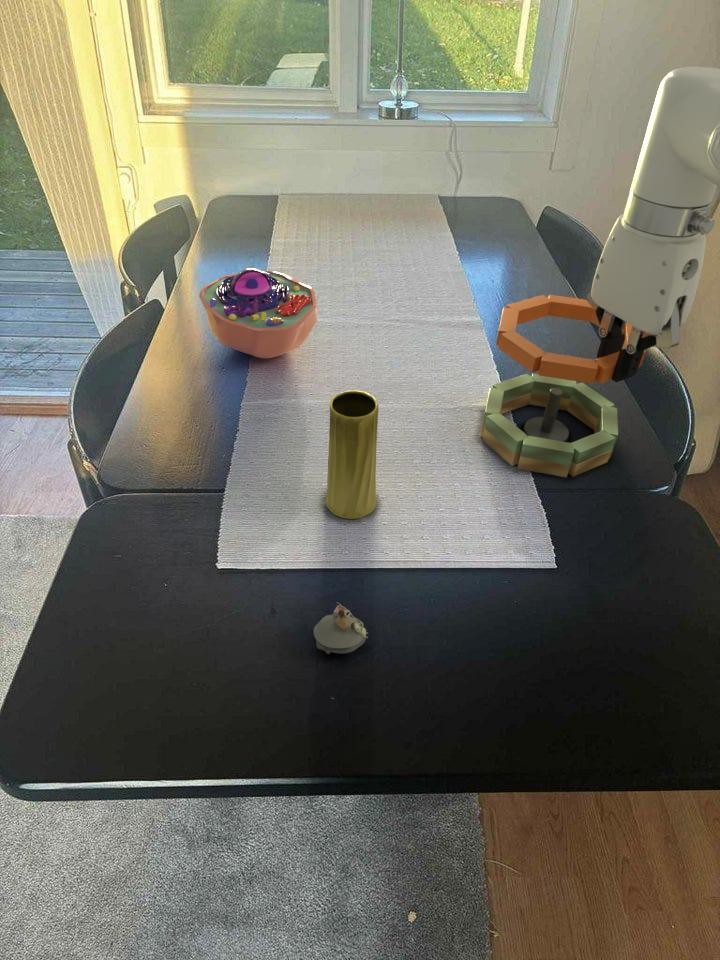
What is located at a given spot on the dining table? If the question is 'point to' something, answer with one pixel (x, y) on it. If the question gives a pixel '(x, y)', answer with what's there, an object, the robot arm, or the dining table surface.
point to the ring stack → (549, 425)
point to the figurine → (339, 632)
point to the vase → (352, 455)
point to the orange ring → (552, 362)
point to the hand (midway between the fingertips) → (614, 371)
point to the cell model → (260, 312)
